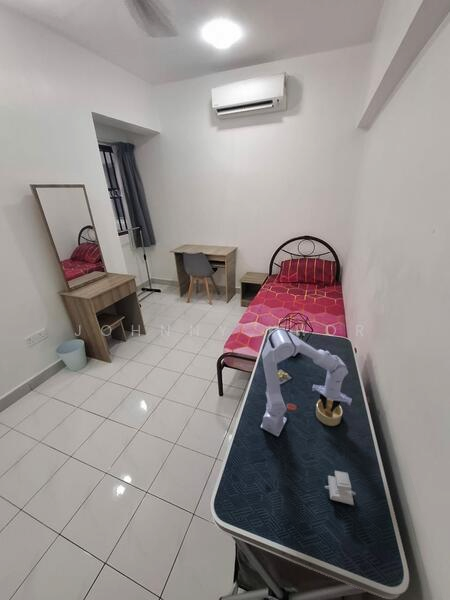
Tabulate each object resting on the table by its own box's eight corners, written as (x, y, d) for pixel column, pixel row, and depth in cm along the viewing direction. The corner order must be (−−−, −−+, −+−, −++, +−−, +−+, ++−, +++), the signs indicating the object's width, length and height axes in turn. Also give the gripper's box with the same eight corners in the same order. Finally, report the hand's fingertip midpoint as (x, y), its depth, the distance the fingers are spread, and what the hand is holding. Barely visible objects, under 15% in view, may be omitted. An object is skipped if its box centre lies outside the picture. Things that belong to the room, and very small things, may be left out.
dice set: (288, 377, 123) (288, 374, 123) (280, 381, 121) (280, 378, 120) (281, 371, 127) (281, 368, 126) (274, 375, 125) (274, 372, 124)
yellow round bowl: (337, 430, 96) (339, 422, 94) (312, 418, 101) (313, 411, 99) (342, 412, 103) (344, 404, 101) (319, 402, 109) (320, 394, 107)
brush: (331, 421, 99) (333, 412, 96) (320, 416, 101) (321, 407, 98) (333, 413, 102) (335, 404, 99) (322, 409, 104) (324, 400, 102)
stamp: (325, 502, 75) (329, 488, 71) (322, 479, 81) (326, 464, 77) (356, 510, 73) (362, 495, 69) (351, 486, 79) (356, 471, 75)
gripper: (355, 385, 93) (349, 409, 99) (316, 371, 100) (313, 394, 106) (352, 397, 87) (345, 422, 93) (311, 382, 95) (308, 406, 101)
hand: (328, 408), depth 100 cm, fingers closed on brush, 2 cm apart
